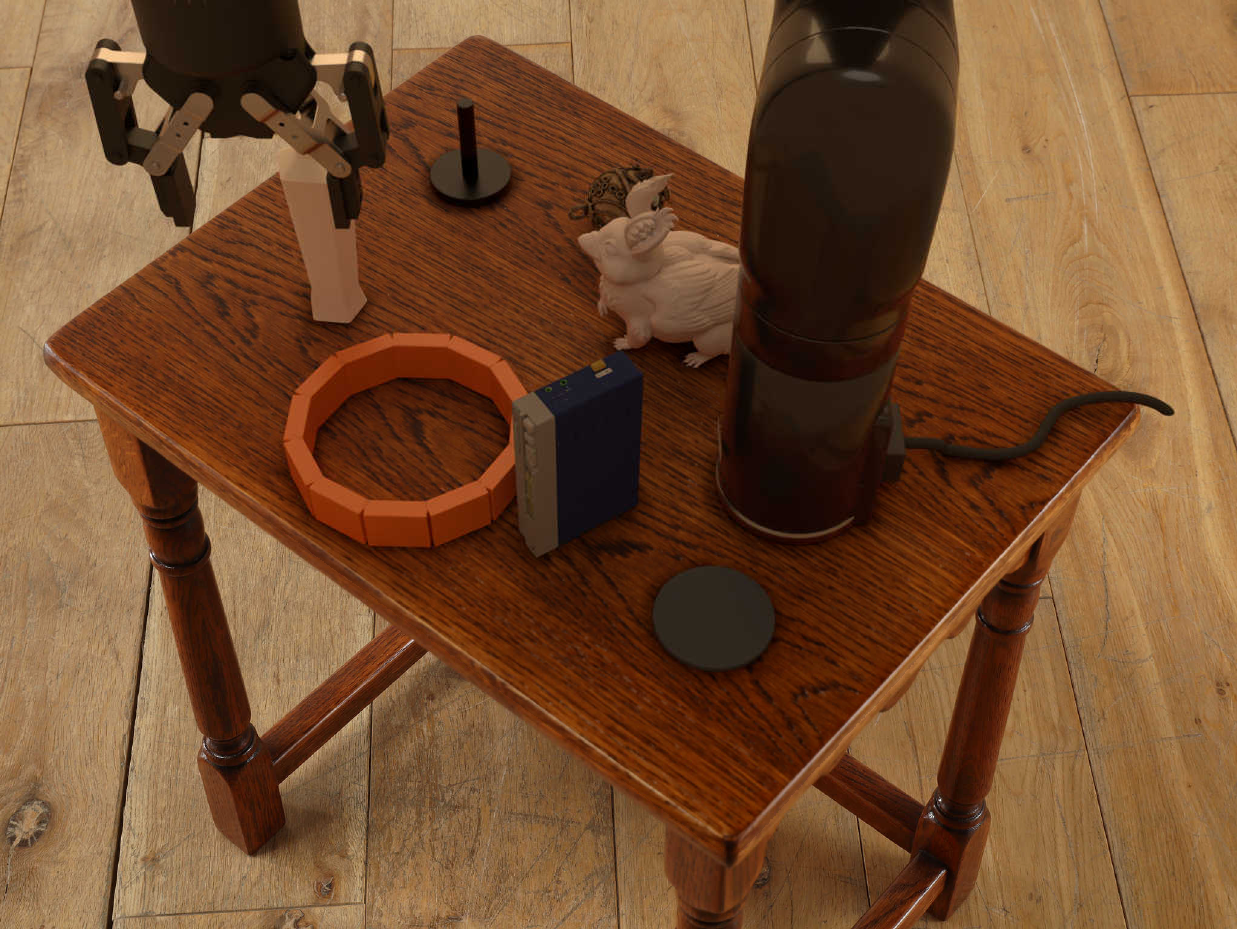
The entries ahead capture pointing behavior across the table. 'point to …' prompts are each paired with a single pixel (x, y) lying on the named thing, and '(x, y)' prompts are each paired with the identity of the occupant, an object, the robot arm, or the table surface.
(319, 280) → the perfume bottle
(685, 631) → the coaster
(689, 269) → the figurine
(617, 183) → the pendant
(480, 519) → the hoop
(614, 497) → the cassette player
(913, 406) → the table surface
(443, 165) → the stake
